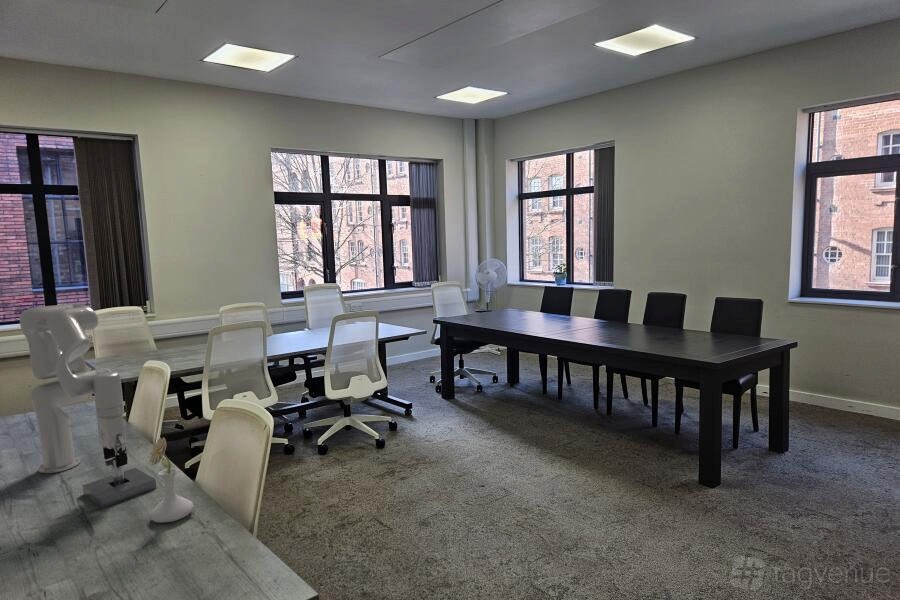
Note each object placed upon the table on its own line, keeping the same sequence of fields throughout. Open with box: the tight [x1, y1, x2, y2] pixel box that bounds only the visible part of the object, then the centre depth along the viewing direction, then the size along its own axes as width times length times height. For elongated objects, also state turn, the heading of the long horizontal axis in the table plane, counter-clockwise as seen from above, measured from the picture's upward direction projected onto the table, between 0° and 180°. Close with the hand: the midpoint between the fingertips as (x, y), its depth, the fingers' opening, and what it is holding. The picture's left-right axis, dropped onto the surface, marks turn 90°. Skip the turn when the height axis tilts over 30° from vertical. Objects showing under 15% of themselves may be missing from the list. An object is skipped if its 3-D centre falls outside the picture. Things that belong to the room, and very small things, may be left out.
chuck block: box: [82, 467, 157, 509], centre depth 178 cm, size 16×16×3 cm
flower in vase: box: [148, 437, 195, 524], centre depth 158 cm, size 13×11×25 cm
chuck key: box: [104, 457, 128, 487], centre depth 178 cm, size 3×6×11 cm, turn 141°
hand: (115, 461), depth 177 cm, fingers open, 9 cm apart
